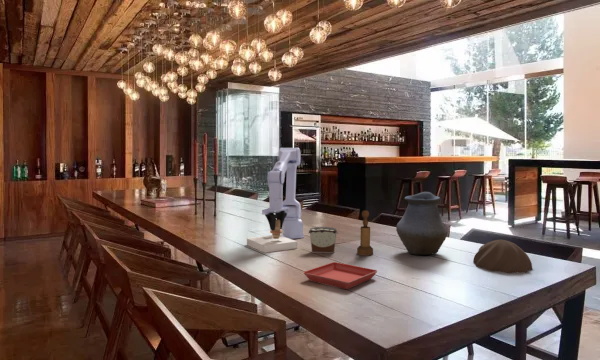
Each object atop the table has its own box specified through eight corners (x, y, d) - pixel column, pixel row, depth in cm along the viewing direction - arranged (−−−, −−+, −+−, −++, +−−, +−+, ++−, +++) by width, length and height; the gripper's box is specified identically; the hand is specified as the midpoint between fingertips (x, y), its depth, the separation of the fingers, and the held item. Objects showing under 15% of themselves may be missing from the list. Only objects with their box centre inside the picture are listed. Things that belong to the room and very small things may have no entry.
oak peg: (276, 236, 190) (276, 218, 190) (284, 238, 187) (284, 220, 186) (267, 238, 186) (267, 220, 186) (275, 239, 183) (275, 221, 182)
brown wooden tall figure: (372, 255, 173) (373, 211, 172) (356, 255, 174) (356, 211, 173) (373, 252, 180) (373, 209, 178) (357, 251, 181) (358, 209, 180)
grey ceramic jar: (389, 255, 174) (390, 194, 172) (403, 245, 193) (404, 190, 191) (442, 261, 164) (443, 196, 162) (451, 250, 183) (452, 192, 182)
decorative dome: (502, 276, 146) (503, 247, 145) (461, 262, 164) (462, 236, 164) (544, 270, 152) (545, 243, 151) (501, 257, 171) (502, 233, 170)
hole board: (278, 240, 203) (278, 234, 202) (297, 248, 187) (297, 241, 187) (246, 244, 194) (246, 238, 194) (264, 252, 179) (264, 245, 179)
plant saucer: (333, 270, 154) (333, 261, 154) (378, 279, 142) (378, 269, 142) (302, 282, 140) (302, 272, 140) (348, 293, 129) (348, 282, 128)
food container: (338, 249, 185) (338, 226, 184) (337, 252, 178) (337, 229, 178) (309, 249, 186) (309, 226, 185) (308, 252, 180) (308, 228, 179)
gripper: (281, 196, 193) (281, 226, 194) (257, 198, 183) (257, 230, 184) (292, 197, 189) (292, 228, 189) (268, 200, 178) (268, 232, 179)
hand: (276, 229), depth 186 cm, fingers closed on oak peg, 4 cm apart
